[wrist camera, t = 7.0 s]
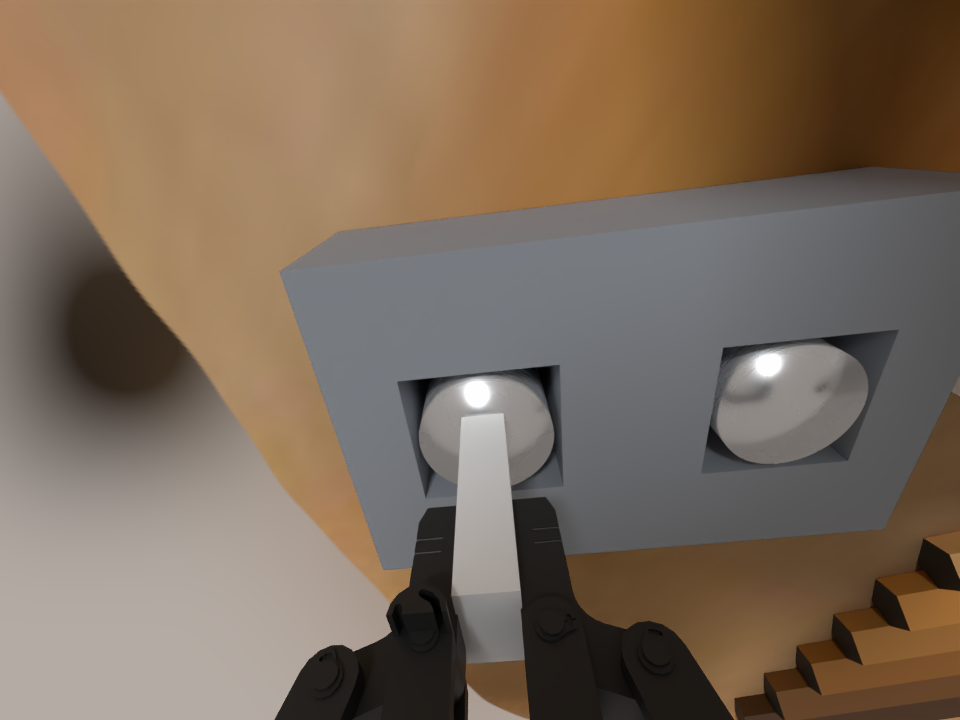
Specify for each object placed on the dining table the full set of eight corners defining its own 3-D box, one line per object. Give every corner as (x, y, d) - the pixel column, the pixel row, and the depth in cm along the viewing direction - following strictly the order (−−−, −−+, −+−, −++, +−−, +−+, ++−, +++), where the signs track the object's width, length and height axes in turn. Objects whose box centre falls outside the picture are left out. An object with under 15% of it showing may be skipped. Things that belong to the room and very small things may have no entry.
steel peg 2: (670, 303, 18) (732, 356, 14) (788, 290, 18) (889, 340, 14) (660, 398, 21) (710, 469, 16) (764, 388, 20) (844, 457, 16)
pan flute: (732, 706, 39) (1037, 660, 35) (753, 754, 36) (1089, 708, 32) (719, 532, 28) (1165, 438, 24) (748, 580, 25) (1262, 481, 21)
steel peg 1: (423, 330, 19) (406, 389, 14) (534, 318, 19) (551, 374, 14) (440, 420, 21) (431, 494, 17) (539, 410, 21) (556, 483, 16)
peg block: (338, 232, 18) (279, 271, 13) (872, 166, 17) (1055, 179, 11) (403, 476, 24) (383, 570, 19) (791, 440, 23) (884, 529, 18)
